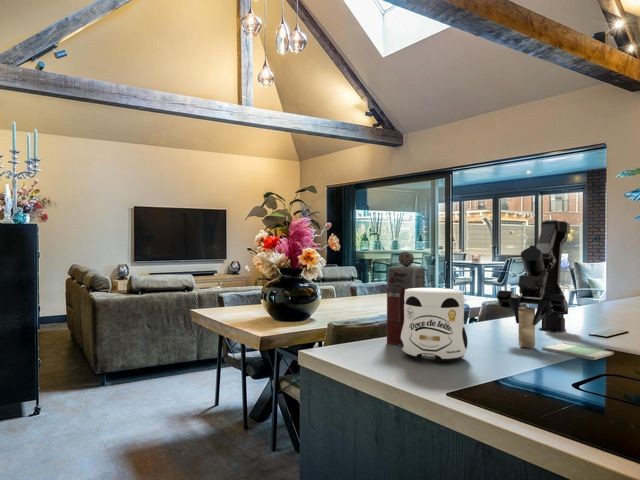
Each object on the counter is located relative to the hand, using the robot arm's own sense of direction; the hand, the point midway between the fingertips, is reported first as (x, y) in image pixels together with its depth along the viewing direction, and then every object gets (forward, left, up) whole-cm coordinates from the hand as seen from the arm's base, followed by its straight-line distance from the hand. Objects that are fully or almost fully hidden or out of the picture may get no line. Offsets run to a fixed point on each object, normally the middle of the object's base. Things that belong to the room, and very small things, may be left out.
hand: (525, 323), depth 133 cm
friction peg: (0, +1, -7) cm, 7 cm away
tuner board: (+11, +8, -7) cm, 15 cm away
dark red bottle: (-24, -25, -7) cm, 36 cm away
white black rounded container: (-7, -31, -7) cm, 32 cm away
